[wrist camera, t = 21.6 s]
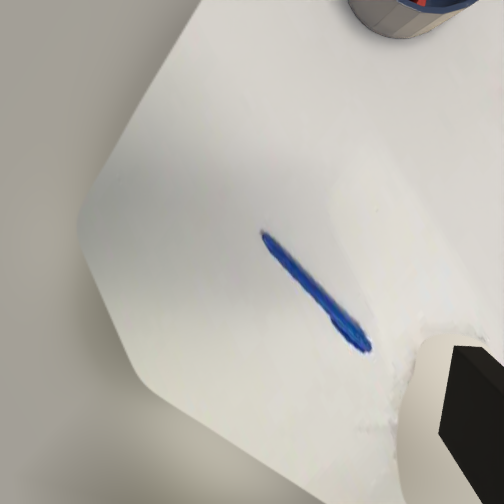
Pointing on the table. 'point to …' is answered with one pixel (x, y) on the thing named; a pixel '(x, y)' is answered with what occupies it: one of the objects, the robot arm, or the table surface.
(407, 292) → the table surface
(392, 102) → the table surface
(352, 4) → the pen cup
